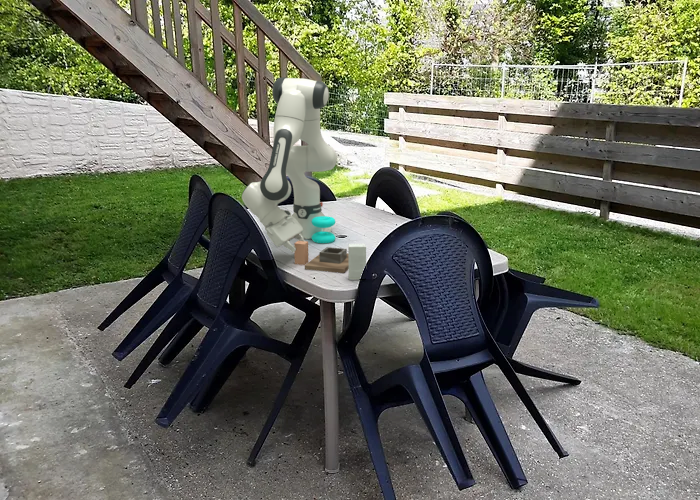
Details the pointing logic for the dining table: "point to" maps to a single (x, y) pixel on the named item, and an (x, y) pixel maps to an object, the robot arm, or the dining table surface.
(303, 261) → the terracotta peg
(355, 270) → the skincare box
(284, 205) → the dining table surface
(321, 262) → the sleeve stand
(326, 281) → the dining table surface
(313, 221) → the donuts
